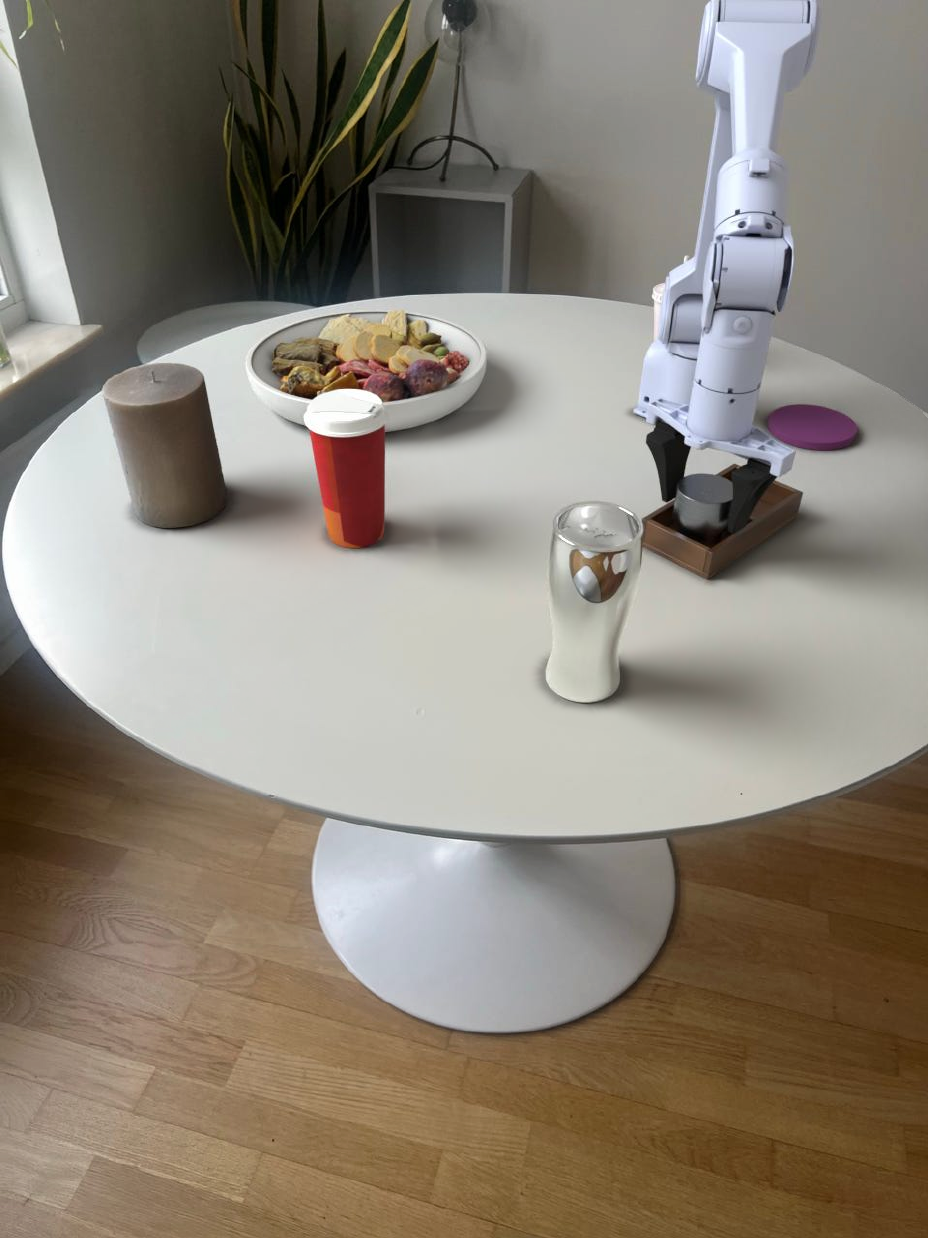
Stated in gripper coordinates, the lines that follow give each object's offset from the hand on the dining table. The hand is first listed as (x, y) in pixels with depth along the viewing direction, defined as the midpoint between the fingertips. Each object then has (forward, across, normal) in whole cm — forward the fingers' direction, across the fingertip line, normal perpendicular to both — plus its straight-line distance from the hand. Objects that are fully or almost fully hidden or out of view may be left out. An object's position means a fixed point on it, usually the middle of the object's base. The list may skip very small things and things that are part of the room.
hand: (702, 513), depth 90 cm
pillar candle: (+4, -42, -33) cm, 54 cm away
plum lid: (+4, -5, +30) cm, 31 cm away
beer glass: (+4, +5, -23) cm, 24 cm away
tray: (+4, 0, +4) cm, 5 cm away
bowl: (+4, -50, -1) cm, 50 cm away
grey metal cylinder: (+3, 0, 0) cm, 3 cm away
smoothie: (+4, -29, +34) cm, 45 cm away
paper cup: (+4, -25, -23) cm, 34 cm away
